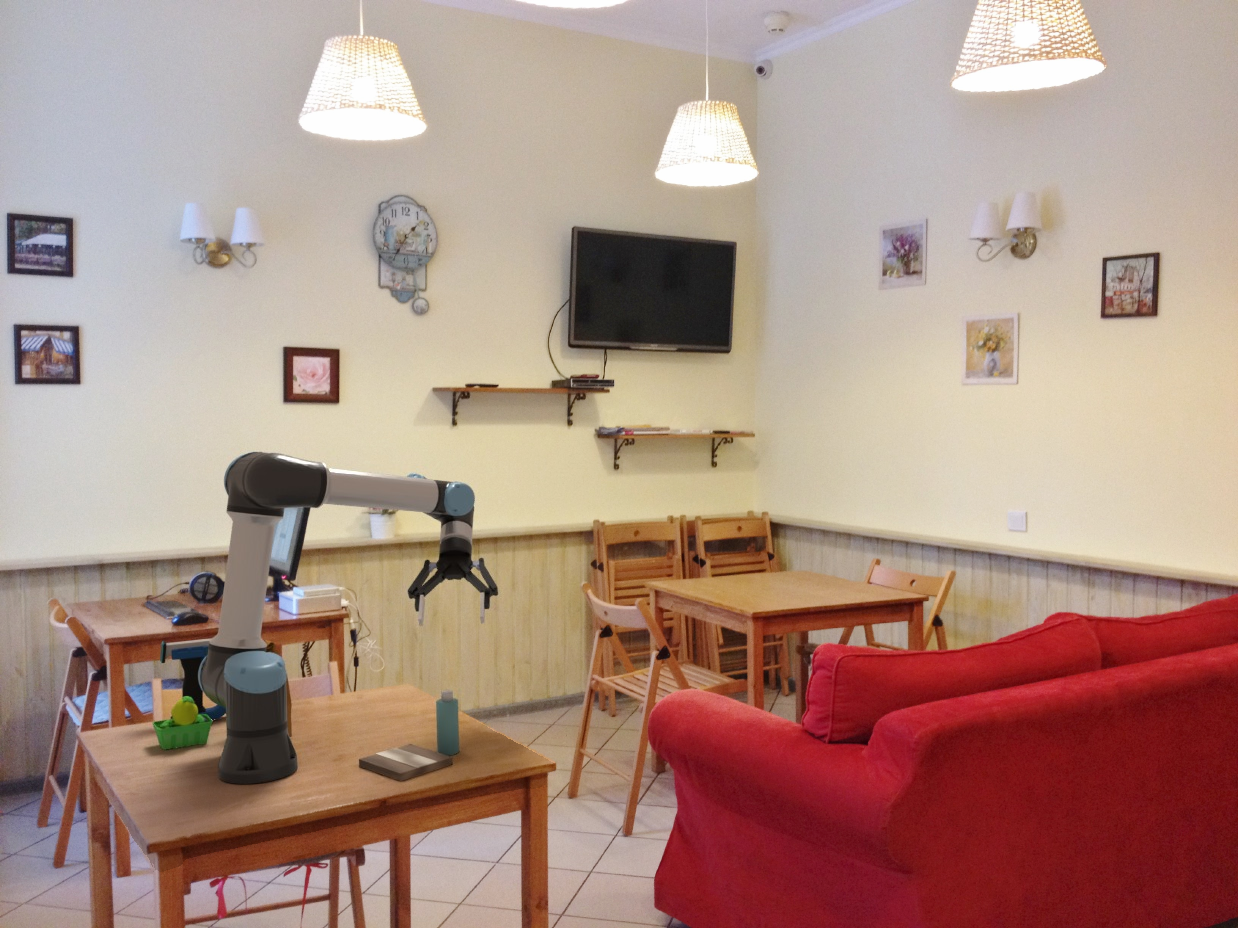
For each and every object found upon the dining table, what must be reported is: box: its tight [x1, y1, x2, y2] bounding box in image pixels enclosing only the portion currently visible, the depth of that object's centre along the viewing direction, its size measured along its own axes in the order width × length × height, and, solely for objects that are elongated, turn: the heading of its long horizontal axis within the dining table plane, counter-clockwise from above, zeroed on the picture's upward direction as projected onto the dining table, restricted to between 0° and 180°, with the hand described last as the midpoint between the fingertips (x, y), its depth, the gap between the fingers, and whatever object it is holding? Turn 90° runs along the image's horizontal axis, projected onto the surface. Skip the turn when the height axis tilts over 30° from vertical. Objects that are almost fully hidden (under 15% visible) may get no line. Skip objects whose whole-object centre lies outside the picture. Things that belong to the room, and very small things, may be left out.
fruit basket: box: [152, 696, 214, 751], centre depth 232 cm, size 11×9×11 cm
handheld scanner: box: [159, 637, 226, 720], centre depth 251 cm, size 5×16×20 cm, turn 115°
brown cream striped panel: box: [358, 743, 454, 782], centre depth 216 cm, size 13×14×2 cm
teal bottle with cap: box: [435, 689, 460, 756], centre depth 224 cm, size 5×5×13 cm
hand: (451, 621), depth 235 cm, fingers open, 13 cm apart
